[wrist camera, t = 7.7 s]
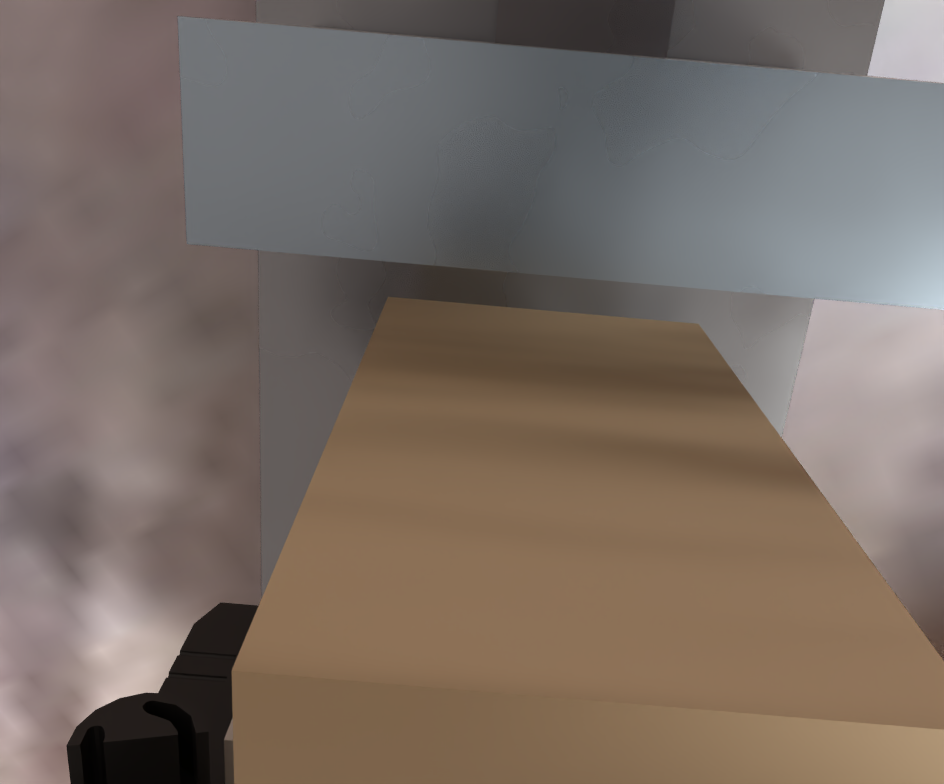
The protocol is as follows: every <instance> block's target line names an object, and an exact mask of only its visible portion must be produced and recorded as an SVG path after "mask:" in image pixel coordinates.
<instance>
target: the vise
mask: <svg viewBox="0 0 944 784" xmlns="http://www.w3.org/2000/svg"><path fill="white" fill-rule="evenodd" d="M884 1H885V0H676V1H675V7H674V14H673V20H672V27H671V33H670V40H669V46H668V53H667V58H676V59H688V60H699V61H710V62H722V63H733V64H744V65H756V66H767V67H778V68H790V69H801V70H812V71H823V72H834V73H844V74H855V75H865V76H867V73H868V69H869V65H870V61H871V56H872V52H873V48H874V44H875V40H876V35H877V31H878V27H879V23H880V18H881V14H882V10H883V6H884ZM497 12H498V0H256V22H262V23H275V24H288V25H301V26H314V27H325V28H336V29H348V30H359V31H370V32H382V33H393V34H404V35H416V36H427V37H438V38H450V39H461V40H472V41H484V42H495V36H496V24H497ZM258 272H259V378H260V484H261V590H262V597H263V594H264V592H265V590H266V587H267V585H268V582H269V580H270V578H271V575H272V573H273V570H274V568H275V566H276V563H277V561H278V559H279V556H280V554H281V551H282V549H283V547H284V544H285V542H286V539H287V537H288V535H289V532H290V530H291V527H292V525H293V523H294V520H295V518H296V515H297V513H298V511H299V508H300V506H301V504H302V501H303V499H304V496H305V494H306V492H307V489H308V487H309V484H310V482H311V480H312V477H313V475H314V472H315V470H316V468H317V465H318V463H319V461H320V458H321V456H322V453H323V451H324V449H325V446H326V444H327V441H328V439H329V437H330V434H331V432H332V429H333V427H334V425H335V422H336V420H337V417H338V415H339V413H340V410H341V408H342V406H343V403H344V401H345V398H346V396H347V394H348V391H349V389H350V386H351V384H352V382H353V379H354V377H355V374H356V372H357V370H358V367H359V365H360V363H361V360H362V358H363V355H364V353H365V351H366V348H367V346H368V343H369V341H370V339H371V336H372V334H373V331H374V329H375V327H376V324H377V322H378V319H379V317H380V315H381V312H382V310H383V308H384V305H385V303H386V300H387V298H388V297H396V298H408V299H419V300H431V301H442V302H454V303H465V304H477V305H488V306H500V307H511V308H523V309H534V310H546V311H557V312H569V313H580V314H592V315H603V316H615V317H626V318H638V319H649V320H661V321H672V322H684V323H695V324H699V325H700V326H701V328H702V329H703V331H704V332H705V333H706V335H707V336H708V337H709V339H710V340H711V342H712V343H713V344H714V346H715V347H716V348H717V350H718V351H719V353H720V354H721V355H722V357H723V358H724V360H725V361H726V362H727V364H728V365H729V366H730V368H731V369H732V371H733V372H734V373H735V375H736V376H737V377H738V379H739V380H740V382H741V383H742V384H743V386H744V387H745V388H746V390H747V391H748V393H749V394H750V395H751V397H752V398H753V399H754V401H755V402H756V404H757V405H758V406H759V408H760V409H761V410H762V412H763V413H764V415H765V416H766V417H767V419H768V420H769V421H770V423H771V424H772V426H773V427H774V428H775V430H776V431H777V432H778V434H779V435H780V437H781V438H782V434H783V430H784V426H785V422H786V417H787V413H788V409H789V405H790V400H791V396H792V392H793V388H794V383H795V379H796V375H797V371H798V366H799V362H800V358H801V354H802V349H803V345H804V341H805V337H806V332H807V328H808V324H809V320H810V315H811V311H812V307H813V303H814V299H813V298H802V297H790V296H779V295H767V294H756V293H744V292H733V291H721V290H710V289H698V288H687V287H675V286H664V285H652V284H641V283H629V282H618V281H606V280H595V279H583V278H572V277H560V276H549V275H537V274H525V273H514V272H502V271H491V270H479V269H468V268H456V267H445V266H433V265H422V264H410V263H399V262H387V261H376V260H364V259H353V258H341V257H330V256H318V255H307V254H295V253H284V252H272V251H261V250H258Z"/></svg>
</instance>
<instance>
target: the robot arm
mask: <svg viewBox="0 0 944 784" xmlns="http://www.w3.org/2000/svg"><path fill="white" fill-rule="evenodd" d="M257 609H258V606H256V605H244V604H232V603H219V604H218V605H217V606H216V607H214V608H213V609H212V610H211V611H209V612H208V613H207V614H206V615H204V616H203V617H202V618H201V619H200V620H198V621H197V622H196V623H195V624H194V625H193V627H192V629H191V631H190V633H189V635H188V637H187V638H186V640H185V642H184V644H183V646H182V648H181V650H180V655H179V656H177V658H176V660H175V662H174V664H173V665H172V667H171V669H170V671H169V676H168V678H166V679H165V681H164V683H163V685H162V687H161V689H160V691H159V693H143V694H138V695H133V696H129V697H124V698H119V699H117V700H115V701H113V702H111V703H109V704H107V705H105V706H103V707H101V708H99V709H97V710H95V711H94V712H93V713H92V714H90V715H89V716H88V717H87V718H86V719H85V720H84V721H83V722H81V723H80V724H79V725H78V726H77V727H76V729H75V731H74V733H73V735H72V736H71V738H70V740H69V742H68V744H67V754H68V763H69V772H70V781H71V784H234V754H233V710H232V668H233V666H234V664H235V661H236V659H237V657H238V654H239V652H240V649H241V647H242V645H243V642H244V640H245V637H246V635H247V633H248V630H249V628H250V625H251V623H252V621H253V618H254V616H255V613H256V611H257Z"/></svg>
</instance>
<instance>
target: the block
mask: <svg viewBox="0 0 944 784" xmlns="http://www.w3.org/2000/svg"><path fill="white" fill-rule="evenodd" d="M232 710H233V754H234V784H944V661H943V659H942V658H941V657H940V655H939V654H938V652H937V651H936V650H935V648H934V647H933V646H932V644H931V643H930V641H929V640H928V639H927V637H926V636H925V635H924V633H923V632H922V630H921V629H920V628H919V626H918V625H917V624H916V622H915V621H914V619H913V618H912V617H911V615H910V614H909V613H908V611H907V610H906V608H905V607H904V606H903V604H902V603H901V602H900V600H899V599H898V597H897V596H896V595H895V593H894V592H893V591H892V589H891V588H890V586H889V585H888V584H887V582H886V581H885V580H884V578H883V577H882V575H881V574H880V573H879V571H878V570H877V569H876V567H875V566H874V564H873V563H872V562H871V560H870V559H869V558H868V556H867V555H866V553H865V552H864V551H863V549H862V548H861V547H860V545H859V544H858V542H857V541H856V540H855V538H854V537H853V536H852V534H851V533H850V531H849V530H848V529H847V527H846V526H845V525H844V523H843V522H842V520H841V519H840V518H839V516H838V515H837V514H836V512H835V511H834V509H833V508H832V507H831V505H830V504H829V503H828V501H827V500H826V498H825V497H824V496H823V494H822V493H821V492H820V490H819V489H818V487H817V486H816V485H815V483H814V482H813V481H812V479H811V478H810V476H809V475H808V474H807V472H806V471H805V470H804V468H803V467H802V465H801V464H800V463H799V461H798V460H797V459H796V457H795V456H794V454H793V453H792V452H791V450H790V449H789V448H788V446H787V445H786V443H785V442H784V441H783V439H782V438H781V437H780V435H779V434H778V432H777V431H776V430H775V428H774V427H773V426H772V424H771V423H770V421H769V420H768V419H767V417H766V416H765V415H764V413H763V412H762V410H761V409H760V408H759V406H758V405H757V404H756V402H755V401H754V399H753V398H752V397H751V395H750V394H749V393H748V391H747V390H746V388H745V387H744V386H743V384H742V383H741V382H740V380H739V379H738V377H737V376H736V375H735V373H734V372H733V371H732V369H731V368H730V366H729V365H728V364H727V362H726V361H725V360H724V358H723V357H722V355H721V354H720V353H719V351H718V350H717V348H716V347H715V346H714V344H713V343H712V342H711V340H710V339H709V337H708V336H707V335H706V333H705V332H704V331H703V329H702V328H701V326H700V325H699V324H695V323H684V322H672V321H661V320H649V319H638V318H626V317H615V316H603V315H592V314H580V313H569V312H557V311H546V310H534V309H523V308H511V307H500V306H488V305H477V304H465V303H454V302H442V301H431V300H419V299H408V298H396V297H388V298H387V300H386V303H385V305H384V308H383V310H382V312H381V315H380V317H379V319H378V322H377V324H376V327H375V329H374V331H373V334H372V336H371V339H370V341H369V343H368V346H367V348H366V351H365V353H364V355H363V358H362V360H361V363H360V365H359V367H358V370H357V372H356V374H355V377H354V379H353V382H352V384H351V386H350V389H349V391H348V394H347V396H346V398H345V401H344V403H343V406H342V408H341V410H340V413H339V415H338V417H337V420H336V422H335V425H334V427H333V429H332V432H331V434H330V437H329V439H328V441H327V444H326V446H325V449H324V451H323V453H322V456H321V458H320V461H319V463H318V465H317V468H316V470H315V472H314V475H313V477H312V480H311V482H310V484H309V487H308V489H307V492H306V494H305V496H304V499H303V501H302V504H301V506H300V508H299V511H298V513H297V515H296V518H295V520H294V523H293V525H292V527H291V530H290V532H289V535H288V537H287V539H286V542H285V544H284V547H283V549H282V551H281V554H280V556H279V559H278V561H277V563H276V566H275V568H274V570H273V573H272V575H271V578H270V580H269V582H268V585H267V587H266V590H265V592H264V594H263V597H262V599H261V602H260V604H259V606H258V609H257V611H256V613H255V616H254V618H253V621H252V623H251V625H250V628H249V630H248V633H247V635H246V637H245V640H244V642H243V645H242V647H241V649H240V652H239V654H238V657H237V659H236V661H235V664H234V666H233V668H232Z"/></svg>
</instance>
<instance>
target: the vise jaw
mask: <svg viewBox="0 0 944 784" xmlns="http://www.w3.org/2000/svg"><path fill="white" fill-rule="evenodd" d="M675 1H676V0H498V12H497V24H496V36H495V42H484V41H472V40H461V39H450V38H438V37H427V36H416V35H404V34H393V33H382V32H370V31H359V30H348V29H336V28H325V27H314V26H301V25H288V24H275V23H262V22H249V21H236V20H222V19H209V18H196V17H183V16H178V39H179V64H180V89H181V114H182V138H183V163H184V188H185V213H186V238H187V244H192V245H203V246H215V247H226V248H238V249H249V250H261V251H272V252H284V253H295V254H307V255H318V256H330V257H341V258H353V259H364V260H376V261H387V262H399V263H410V264H422V265H433V266H445V267H456V268H468V269H479V270H491V271H502V272H514V273H525V274H537V275H549V276H560V277H572V278H583V279H595V280H606V281H618V282H629V283H641V284H652V285H664V286H675V287H687V288H698V289H710V290H721V291H733V292H744V293H756V294H767V295H779V296H790V297H802V298H813V299H825V300H836V301H848V302H859V303H871V304H882V305H894V306H906V307H917V308H929V309H940V310H944V83H939V82H928V81H918V80H907V79H897V78H886V77H876V76H865V75H855V74H844V73H834V72H823V71H812V70H801V69H790V68H778V67H767V66H756V65H744V64H733V63H722V62H710V61H699V60H688V59H676V58H667V53H668V46H669V40H670V33H671V27H672V20H673V14H674V7H675Z"/></svg>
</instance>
